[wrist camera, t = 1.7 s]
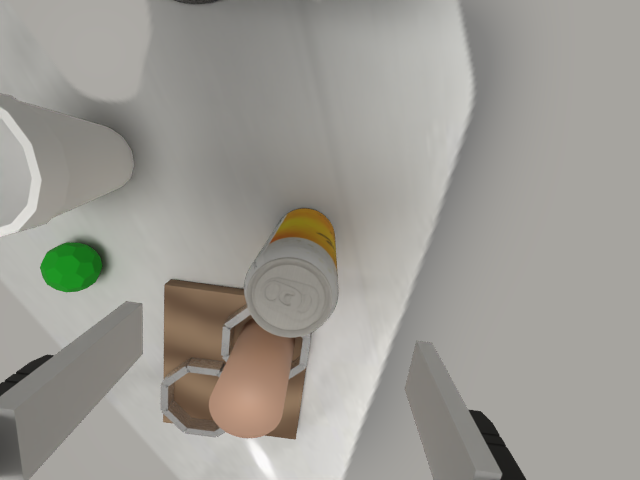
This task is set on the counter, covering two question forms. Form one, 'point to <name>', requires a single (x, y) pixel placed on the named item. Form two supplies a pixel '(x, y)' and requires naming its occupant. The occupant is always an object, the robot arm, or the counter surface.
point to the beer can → (294, 276)
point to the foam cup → (54, 164)
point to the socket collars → (215, 369)
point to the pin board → (212, 347)
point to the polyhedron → (71, 267)
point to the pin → (253, 383)
